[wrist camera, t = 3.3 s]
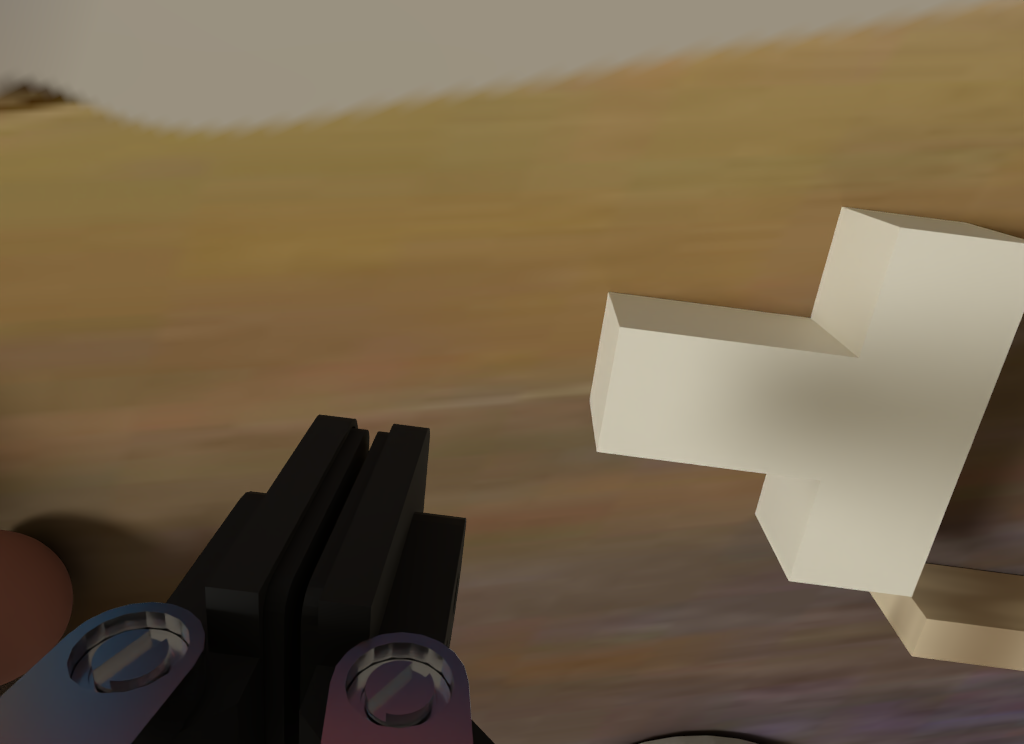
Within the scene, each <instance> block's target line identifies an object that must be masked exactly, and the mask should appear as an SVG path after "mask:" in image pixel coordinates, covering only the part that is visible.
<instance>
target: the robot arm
mask: <svg viewBox="0 0 1024 744" xmlns="http://www.w3.org/2000/svg"><path fill="white" fill-rule="evenodd" d="M429 439H430V429H429V428H423V427H415V426H407V425H399V424H393V426H392V428H391V430H390V433H388V432H380V431H379V432H378V433H377V435H376V437H375V439H374V441H373V443H372V446H371V448H370V450H369V431H368V430H364V429H358V425H357V421H356V419H351V418H343V417H335V416H327V415H318V416H317V417H316V419H315V420H314V422H313V423H312V425H311V426H310V428H309V429H308V431H307V433H306V434H305V436H304V437H303V439H302V440H301V442H300V443H299V445H298V446H297V448H296V449H295V451H294V452H293V454H292V455H291V457H290V458H289V460H288V461H287V463H286V464H285V466H284V467H283V469H282V470H281V472H280V474H279V475H278V477H277V478H276V480H275V481H274V483H273V484H272V486H271V487H270V489H269V490H268V492H267V493H260V492H252V491H250V492H247V493H245V494H244V495H243V496H242V497H241V498H240V500H239V501H238V503H237V504H236V505H235V507H234V508H233V510H232V511H231V512H230V514H229V515H228V517H227V518H226V519H225V521H224V522H223V524H222V525H221V526H220V528H219V529H218V531H217V532H216V533H215V535H214V536H213V538H212V539H211V540H210V542H209V543H208V545H207V546H206V548H205V549H204V550H203V552H202V553H201V555H200V556H199V557H198V559H197V560H196V562H195V563H194V564H193V566H192V567H191V569H190V570H189V571H188V573H187V574H186V576H185V577H184V578H183V580H182V581H181V583H180V584H179V585H178V587H177V588H176V590H175V591H174V592H173V594H172V595H171V597H170V598H169V599H168V601H167V602H166V603H158V602H147V603H136V604H129V605H125V606H122V607H118V608H114V609H111V610H108V611H106V612H103V613H101V614H99V615H97V616H95V617H93V618H91V619H89V620H87V621H85V622H84V623H83V624H81V625H80V626H79V627H77V628H76V629H74V630H73V631H72V632H70V633H69V634H68V635H67V636H66V637H65V638H64V639H62V640H61V641H60V642H59V643H58V644H57V645H56V646H55V647H54V648H53V649H52V650H51V651H49V652H48V653H47V654H46V655H45V656H44V657H43V658H42V659H41V660H40V661H39V662H38V663H36V664H35V665H34V666H33V667H32V668H31V669H30V670H29V671H28V672H27V673H26V674H25V675H23V676H22V677H21V678H20V679H19V680H18V681H17V682H16V683H15V684H14V685H13V686H12V687H10V688H9V689H8V690H7V691H6V692H5V693H4V694H3V695H2V696H1V697H0V744H494V743H493V742H492V741H491V739H490V738H489V737H488V736H487V735H486V734H485V733H484V732H483V731H482V730H481V729H480V728H479V727H478V726H477V725H476V724H475V723H474V722H473V721H472V719H471V707H470V692H469V681H468V678H467V674H466V670H465V666H464V665H463V663H462V662H461V661H460V659H459V658H458V656H457V655H456V654H455V652H453V651H452V650H451V649H449V646H450V640H451V634H452V628H453V621H454V615H455V608H456V601H457V594H458V587H459V579H460V571H461V563H462V554H463V546H464V537H465V528H466V518H461V517H453V516H445V515H437V514H429V513H423V509H424V498H425V486H426V475H427V463H428V452H429ZM640 744H757V743H753V742H749V741H746V740H742V739H736V738H727V737H718V736H709V735H704V736H675V737H669V738H664V739H658V740H652V741H647V742H643V743H640Z"/></svg>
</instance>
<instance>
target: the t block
mask: <svg viewBox="0 0 1024 744" xmlns="http://www.w3.org/2000/svg"><path fill="white" fill-rule="evenodd" d="M1023 313H1024V239H1021V238H1018V237H1014V236H1011V235H1007V234H1004V233H1000V232H997V231H993V230H990V229H987V228H983V227H980V226H976V225H973V224H969V223H965V222H957V221H949V220H941V219H934V218H926V217H918V216H911V215H903V214H895V213H887V212H880V211H872V210H864V209H856V208H849V207H842V208H841V212H840V215H839V219H838V223H837V226H836V230H835V233H834V237H833V240H832V244H831V247H830V251H829V254H828V258H827V261H826V265H825V269H824V272H823V276H822V279H821V283H820V286H819V290H818V293H817V297H816V300H815V304H814V307H813V311H812V315H811V318H807V317H799V316H791V315H783V314H776V313H768V312H760V311H753V310H745V309H737V308H729V307H722V306H714V305H706V304H698V303H691V302H683V301H675V300H668V299H660V298H652V297H644V296H637V295H629V294H621V293H613V292H608V297H607V303H606V309H605V314H604V320H603V326H602V332H601V337H600V343H599V349H598V355H597V360H596V366H595V372H594V378H593V383H592V389H591V395H590V407H591V414H592V421H593V428H594V435H595V442H596V449H597V452H603V453H610V454H618V455H626V456H634V457H641V458H649V459H657V460H665V461H672V462H680V463H688V464H695V465H703V466H711V467H719V468H726V469H734V470H742V471H750V472H757V473H765V474H766V477H765V481H764V484H763V488H762V491H761V495H760V498H759V502H758V505H757V509H756V513H755V515H756V517H757V519H758V521H759V523H760V525H761V527H762V529H763V531H764V533H765V535H766V537H767V539H768V541H769V543H770V545H771V547H772V549H773V551H774V552H775V554H776V556H777V558H778V560H779V562H780V564H781V566H782V568H783V570H784V572H785V574H786V576H787V578H788V580H789V581H793V582H801V583H808V584H816V585H824V586H832V587H839V588H847V589H855V590H863V591H870V592H878V593H886V594H893V595H901V596H909V597H912V595H913V592H914V590H915V587H916V585H917V582H918V580H919V577H920V575H921V572H922V570H923V567H924V564H925V562H926V559H927V557H928V554H929V552H930V549H931V547H932V544H933V542H934V539H935V537H936V534H937V531H938V529H939V526H940V524H941V521H942V519H943V516H944V514H945V511H946V509H947V506H948V504H949V501H950V498H951V496H952V493H953V491H954V488H955V486H956V483H957V481H958V478H959V476H960V473H961V471H962V468H963V465H964V463H965V460H966V458H967V455H968V453H969V450H970V448H971V445H972V443H973V440H974V438H975V435H976V432H977V430H978V427H979V425H980V422H981V420H982V417H983V415H984V412H985V410H986V407H987V405H988V402H989V399H990V397H991V394H992V392H993V389H994V387H995V384H996V382H997V379H998V377H999V374H1000V372H1001V369H1002V366H1003V364H1004V361H1005V359H1006V356H1007V354H1008V351H1009V349H1010V346H1011V344H1012V341H1013V339H1014V336H1015V333H1016V331H1017V328H1018V326H1019V323H1020V321H1021V318H1022V316H1023Z"/></svg>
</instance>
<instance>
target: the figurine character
mask: <svg viewBox="0 0 1024 744" xmlns="http://www.w3.org/2000/svg"><path fill="white" fill-rule="evenodd" d="M72 607H73V588H72V583H71V579H70V576H69V574H68V571H67V569H66V567H65V566H64V564H63V562H62V561H61V560H60V558H59V557H58V556H57V555H56V554H55V553H54V552H53V551H52V550H51V549H50V548H49V547H47V546H46V545H44V544H43V543H41V542H40V541H38V540H36V539H34V538H32V537H29V536H27V535H24V534H21V533H17V532H12V531H5V530H0V685H3V684H5V683H8V682H10V681H13V680H15V679H16V678H18V677H20V676H22V675H24V674H25V673H27V672H28V671H29V670H30V669H31V668H32V667H33V666H34V665H35V664H36V663H38V662H39V661H40V660H41V659H42V658H43V657H44V656H45V655H46V654H47V653H48V652H49V651H51V650H52V649H53V648H54V647H55V646H56V645H57V643H58V642H59V641H60V639H61V638H62V636H63V634H64V632H65V630H66V628H67V625H68V623H69V620H70V617H71V613H72Z"/></svg>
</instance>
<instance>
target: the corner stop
mask: <svg viewBox="0 0 1024 744" xmlns="http://www.w3.org/2000/svg"><path fill="white" fill-rule="evenodd" d="M870 593H871V595H872V596H873V598H874V599H875V601H876V602H877V604H878V605H879V607H880V609H881V610H882V612H883V613H884V615H885V616H886V618H887V619H888V621H889V622H890V624H891V625H892V627H893V628H894V630H895V631H896V633H897V635H898V636H899V638H900V639H901V641H902V642H903V644H904V645H905V647H906V648H907V650H908V651H909V653H910V654H911V656H914V657H922V658H929V659H937V660H945V661H952V662H960V663H968V664H975V665H983V666H991V667H998V668H1006V669H1014V670H1022V671H1024V576H1019V575H1012V574H1004V573H996V572H989V571H981V570H973V569H966V568H958V567H950V566H942V565H935V564H927V563H925V564H924V567H923V570H922V572H921V575H920V577H919V580H918V582H917V585H916V587H915V590H914V592H913V595H912V597H909V596H901V595H893V594H886V593H878V592H870Z"/></svg>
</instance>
